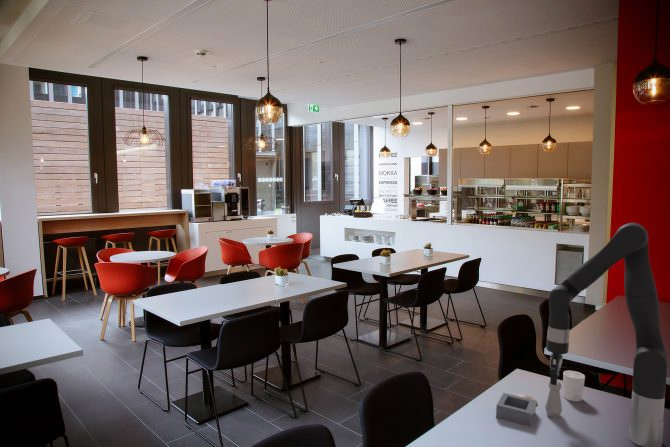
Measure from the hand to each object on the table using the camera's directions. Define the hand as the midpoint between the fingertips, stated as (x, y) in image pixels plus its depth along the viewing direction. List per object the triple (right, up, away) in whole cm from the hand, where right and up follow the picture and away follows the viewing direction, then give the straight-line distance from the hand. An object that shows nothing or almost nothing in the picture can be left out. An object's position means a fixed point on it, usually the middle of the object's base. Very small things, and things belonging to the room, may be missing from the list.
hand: (554, 380), depth 178 cm
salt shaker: (0, -14, +1) cm, 14 cm away
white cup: (+15, -13, +16) cm, 25 cm away
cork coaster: (-6, -13, +12) cm, 18 cm away
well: (-14, -13, +1) cm, 20 cm away
